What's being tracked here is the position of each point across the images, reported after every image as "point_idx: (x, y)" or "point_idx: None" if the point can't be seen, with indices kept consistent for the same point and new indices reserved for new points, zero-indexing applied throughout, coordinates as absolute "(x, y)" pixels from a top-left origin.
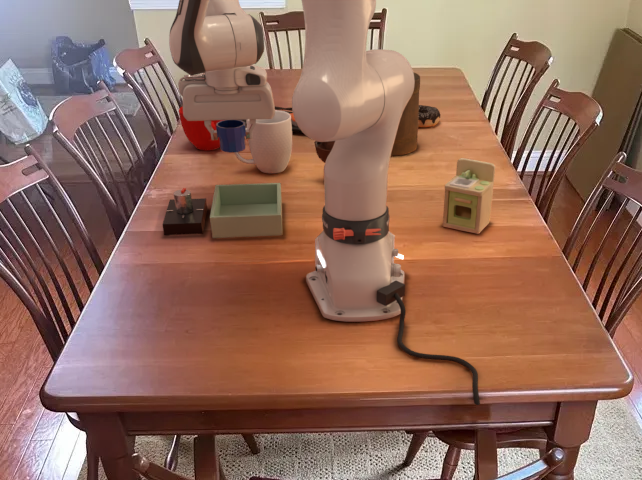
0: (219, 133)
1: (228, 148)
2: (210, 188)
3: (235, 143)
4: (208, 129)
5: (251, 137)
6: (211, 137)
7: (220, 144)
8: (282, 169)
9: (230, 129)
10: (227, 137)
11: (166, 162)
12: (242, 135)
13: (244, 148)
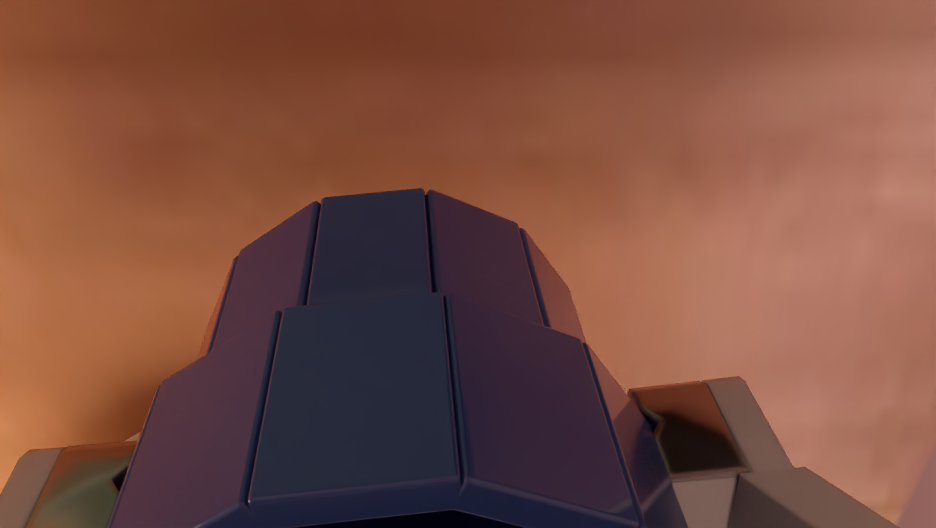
0: (622, 425)
1: (435, 221)
2: (629, 164)
3: (298, 284)
4: (862, 515)
5: (28, 465)
6: (753, 402)
7: (580, 332)
8: None
9: (344, 468)
10: (437, 322)
11: (891, 521)
12: (141, 439)
13: (210, 322)
